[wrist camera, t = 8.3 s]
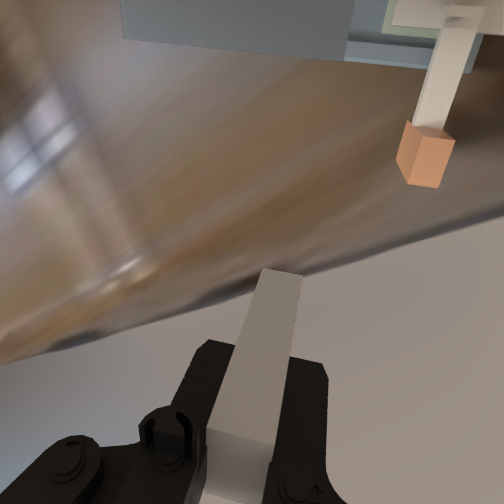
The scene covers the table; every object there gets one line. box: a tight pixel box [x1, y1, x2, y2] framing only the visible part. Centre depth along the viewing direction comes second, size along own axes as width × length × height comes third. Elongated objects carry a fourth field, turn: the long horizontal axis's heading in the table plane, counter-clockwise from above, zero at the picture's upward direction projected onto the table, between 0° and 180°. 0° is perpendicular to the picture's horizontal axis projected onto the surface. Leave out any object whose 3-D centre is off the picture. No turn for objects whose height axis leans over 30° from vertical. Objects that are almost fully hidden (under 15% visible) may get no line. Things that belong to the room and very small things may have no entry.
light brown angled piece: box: [390, 0, 504, 188], centre depth 22 cm, size 8×20×6 cm, turn 174°
